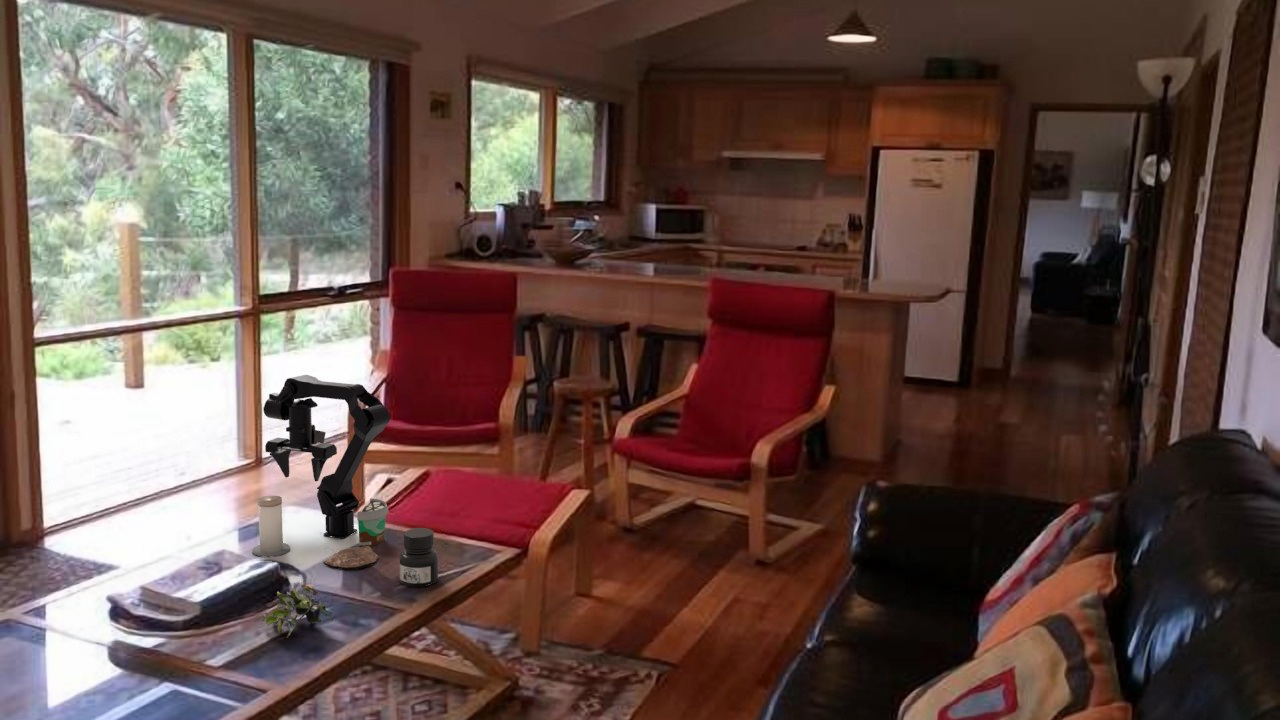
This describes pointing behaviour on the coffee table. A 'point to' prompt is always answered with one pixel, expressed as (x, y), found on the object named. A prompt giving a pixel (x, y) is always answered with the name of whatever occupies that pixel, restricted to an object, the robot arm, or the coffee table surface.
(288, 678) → the coffee table surface
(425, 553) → the ink bottle
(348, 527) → the robot arm
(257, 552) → the coaster
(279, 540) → the tumbler
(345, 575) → the coffee table surface
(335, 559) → the shell
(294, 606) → the green leafy plant
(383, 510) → the food container
